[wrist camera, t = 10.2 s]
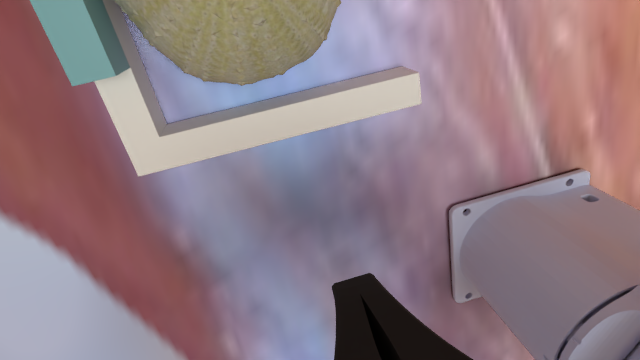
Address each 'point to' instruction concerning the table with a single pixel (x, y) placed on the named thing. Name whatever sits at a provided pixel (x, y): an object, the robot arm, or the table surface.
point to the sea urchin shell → (233, 34)
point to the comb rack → (211, 129)
